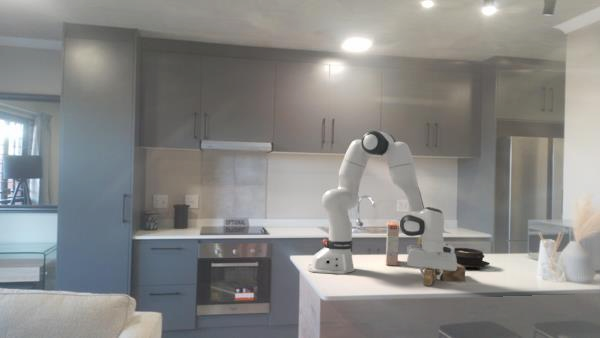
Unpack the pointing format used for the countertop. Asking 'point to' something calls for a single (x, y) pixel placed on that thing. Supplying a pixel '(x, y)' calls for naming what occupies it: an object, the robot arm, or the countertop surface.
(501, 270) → the countertop surface
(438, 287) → the countertop surface
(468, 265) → the casserole
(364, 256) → the countertop surface
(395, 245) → the cracker box
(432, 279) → the stool leg
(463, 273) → the stool seat
